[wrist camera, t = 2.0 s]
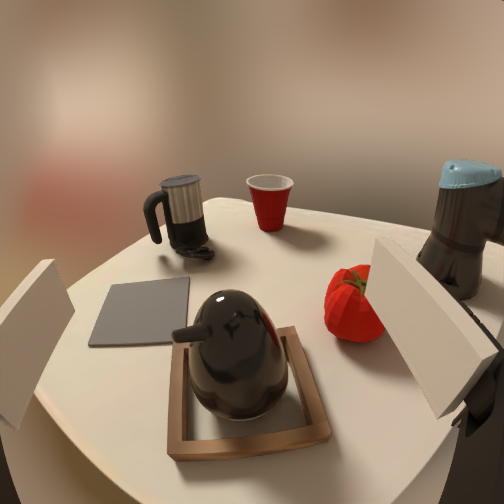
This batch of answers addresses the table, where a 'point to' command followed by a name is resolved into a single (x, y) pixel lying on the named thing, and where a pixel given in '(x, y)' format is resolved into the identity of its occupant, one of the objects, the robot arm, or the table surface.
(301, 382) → the walnut collar
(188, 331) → the pump dispenser
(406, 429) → the table surface
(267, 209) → the plastic cup
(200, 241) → the milk frother
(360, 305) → the tomato
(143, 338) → the rubber mat
